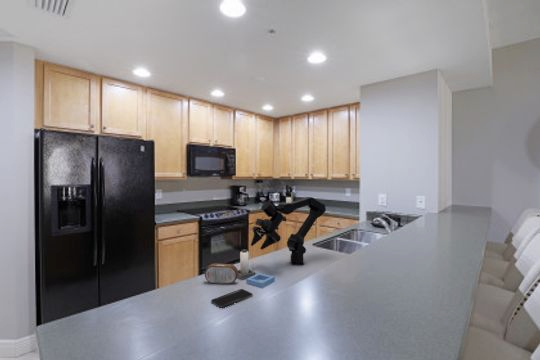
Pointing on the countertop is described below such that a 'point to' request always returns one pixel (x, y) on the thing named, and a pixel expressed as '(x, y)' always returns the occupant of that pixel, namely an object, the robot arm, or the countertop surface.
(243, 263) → the cream canister charcoal lid
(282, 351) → the countertop surface
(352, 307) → the countertop surface
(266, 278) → the blue bezel socket
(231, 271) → the tin
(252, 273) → the gray socket
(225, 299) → the phone
